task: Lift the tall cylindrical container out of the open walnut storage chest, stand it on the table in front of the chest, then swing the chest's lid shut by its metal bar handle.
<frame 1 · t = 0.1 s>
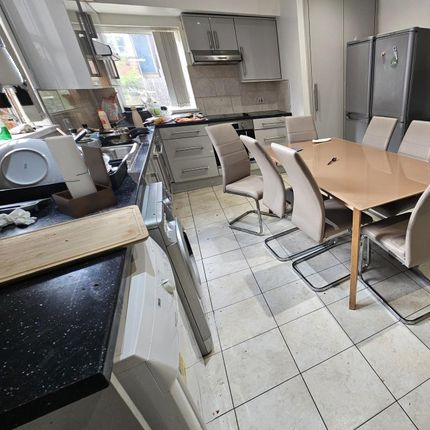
hand: (17, 106, 82), 35 cm above the worktop, tool pointing down, fingers open, 9 cm apart
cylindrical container: (91, 206, 100), resting on chest
chest: (89, 207, 100), on the worktop
lid: (102, 164, 101), point 14 cm above the worktop, hinge at 95.0°
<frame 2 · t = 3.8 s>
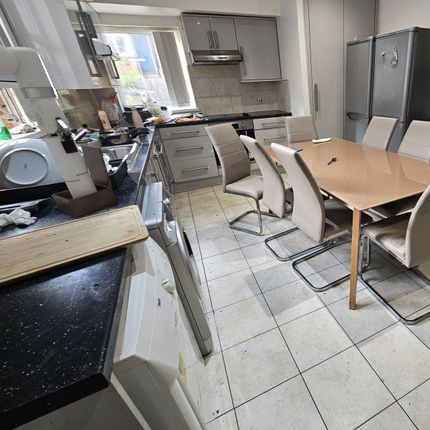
hand: (66, 151, 91), 21 cm above the worktop, tool pointing down, fingers closed on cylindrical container, 7 cm apart
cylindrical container: (91, 206, 100), resting on chest, touching gripper
everything else where it was.
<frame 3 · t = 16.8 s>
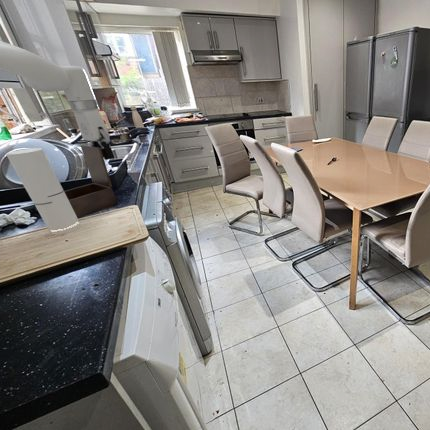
hand: (105, 157, 101), 16 cm above the worktop, tool pointing down, fingers closed on lid, 5 cm apart
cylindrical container: (67, 231, 84), on the worktop
lid: (102, 164, 101), point 14 cm above the worktop, hinge at 95.0°, touching gripper
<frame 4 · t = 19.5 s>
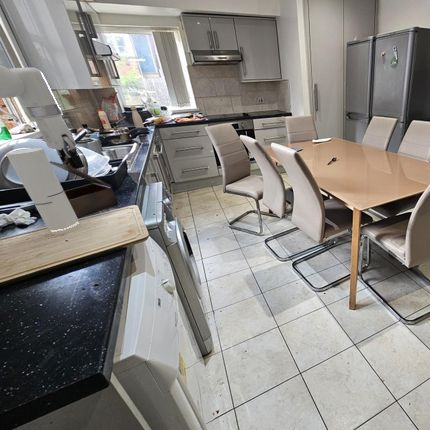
hand: (74, 166, 94), 15 cm above the worktop, tool pointing down, fingers closed on lid, 5 cm apart
lid: (84, 169, 97), point 14 cm above the worktop, hinge at 47.8°, touching gripper
everything else where it was.
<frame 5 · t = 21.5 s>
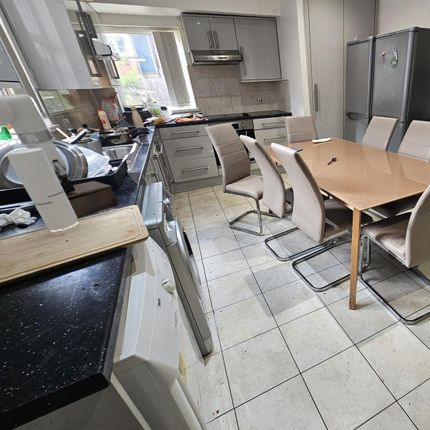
hand: (65, 190, 93), 8 cm above the worktop, tool pointing down, fingers closed on lid, 5 cm apart
lid: (77, 183, 96), point 9 cm above the worktop, hinge at 3.7°, touching gripper
everything else where it was.
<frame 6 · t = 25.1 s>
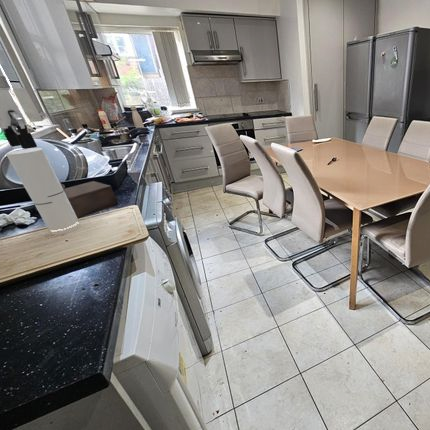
hand: (24, 146, 83), 24 cm above the worktop, tool pointing down, fingers open, 9 cm apart
lid: (77, 185, 96), point 9 cm above the worktop, hinge at 0.5°
everything else where it was.
at the end: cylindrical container inside the target area (0.3 cm from its centre), on the worktop; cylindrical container tilted 0°; lid at +0° (first picture: +95°) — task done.
